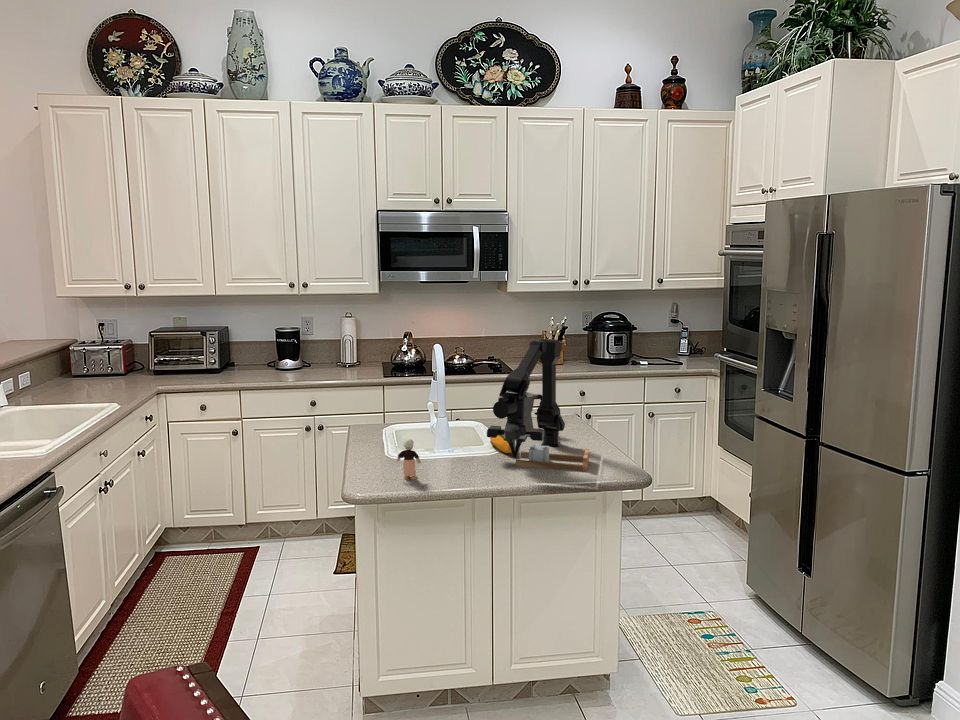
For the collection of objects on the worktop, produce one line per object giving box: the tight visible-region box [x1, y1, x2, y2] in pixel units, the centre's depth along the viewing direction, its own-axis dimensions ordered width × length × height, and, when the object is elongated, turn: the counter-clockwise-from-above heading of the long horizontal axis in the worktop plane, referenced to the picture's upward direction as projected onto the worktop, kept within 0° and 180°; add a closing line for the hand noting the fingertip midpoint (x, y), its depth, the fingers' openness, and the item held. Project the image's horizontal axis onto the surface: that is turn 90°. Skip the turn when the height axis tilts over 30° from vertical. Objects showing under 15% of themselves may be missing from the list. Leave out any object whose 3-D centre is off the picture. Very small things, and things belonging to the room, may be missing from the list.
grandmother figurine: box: [396, 438, 421, 481], centre depth 224 cm, size 8×4×13 cm, turn 92°
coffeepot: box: [524, 391, 542, 431], centre depth 281 cm, size 15×9×18 cm, turn 70°
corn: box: [489, 435, 516, 454], centre depth 254 cm, size 7×8×20 cm
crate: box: [528, 444, 550, 462], centre depth 240 cm, size 6×6×5 cm
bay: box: [515, 448, 590, 472], centre depth 239 cm, size 11×23×5 cm, turn 78°
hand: (515, 457), depth 242 cm, fingers closed
